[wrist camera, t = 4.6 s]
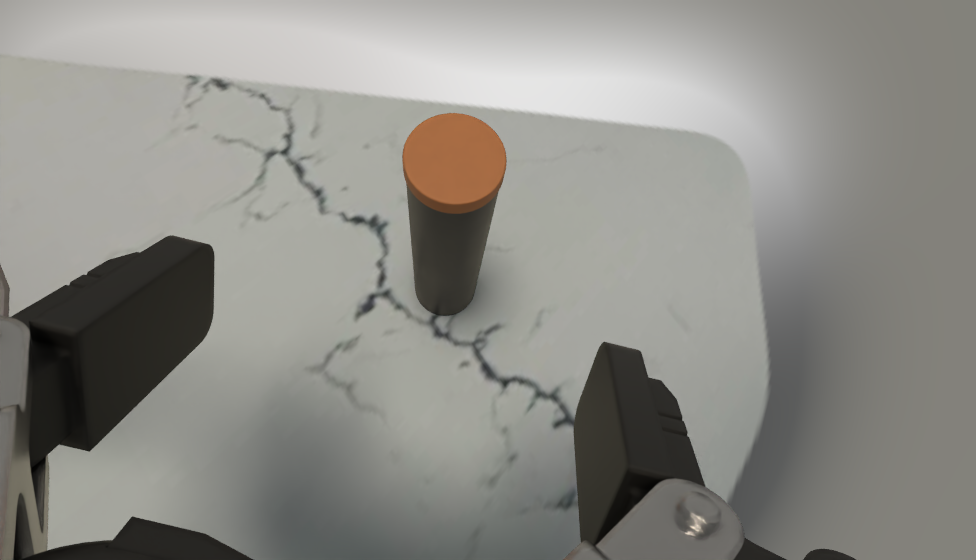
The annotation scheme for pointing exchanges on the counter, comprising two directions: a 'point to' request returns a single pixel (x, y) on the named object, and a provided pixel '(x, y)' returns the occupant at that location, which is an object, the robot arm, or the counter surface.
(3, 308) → the coffee pot
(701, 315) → the counter surface
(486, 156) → the stylus
